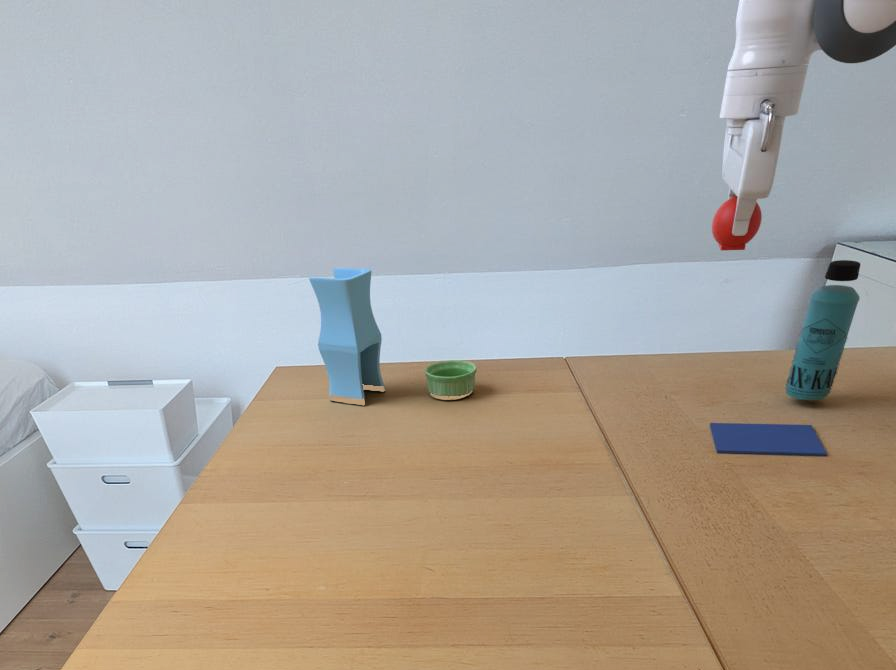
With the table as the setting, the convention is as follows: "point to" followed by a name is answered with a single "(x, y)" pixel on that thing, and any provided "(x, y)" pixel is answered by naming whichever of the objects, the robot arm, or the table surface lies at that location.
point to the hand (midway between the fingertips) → (735, 229)
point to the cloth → (766, 439)
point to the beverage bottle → (824, 334)
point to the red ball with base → (724, 226)
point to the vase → (348, 332)
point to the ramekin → (451, 378)
